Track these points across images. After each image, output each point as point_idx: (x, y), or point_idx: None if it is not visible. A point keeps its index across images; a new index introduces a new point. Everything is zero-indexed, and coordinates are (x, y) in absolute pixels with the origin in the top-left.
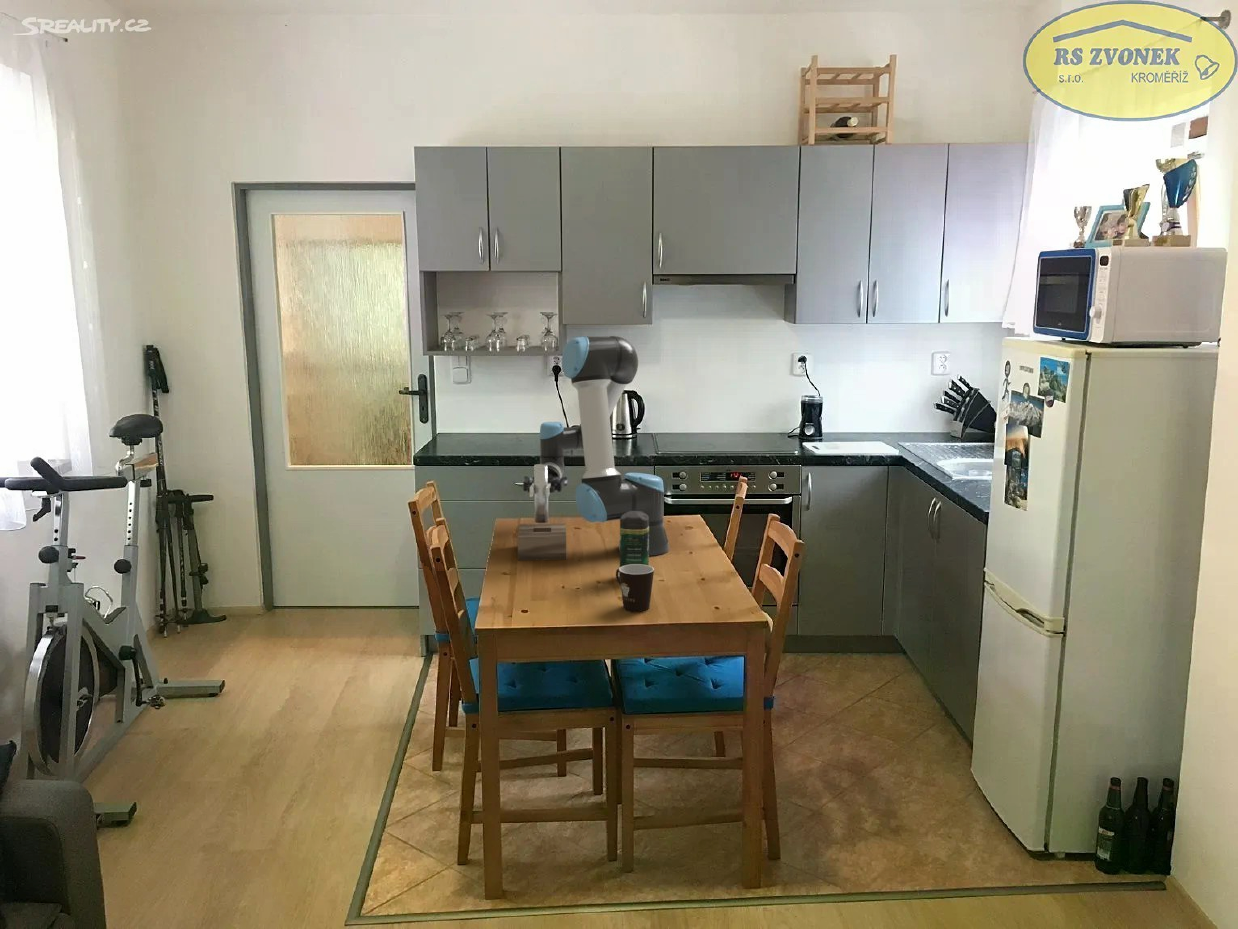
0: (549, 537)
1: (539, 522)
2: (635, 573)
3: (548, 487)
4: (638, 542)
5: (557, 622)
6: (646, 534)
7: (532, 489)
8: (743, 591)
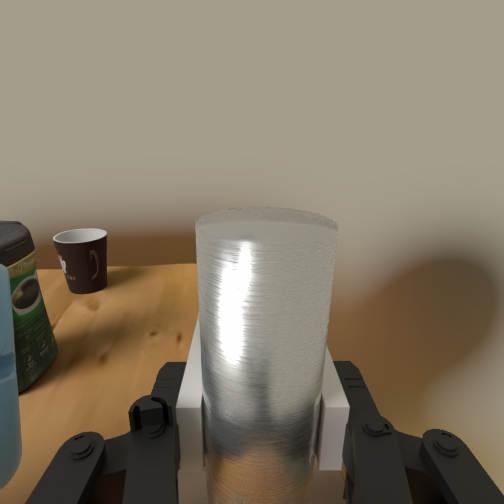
0: (204, 469)
1: None
2: (74, 254)
3: (198, 315)
4: None
5: (194, 265)
6: None
7: None
8: None
